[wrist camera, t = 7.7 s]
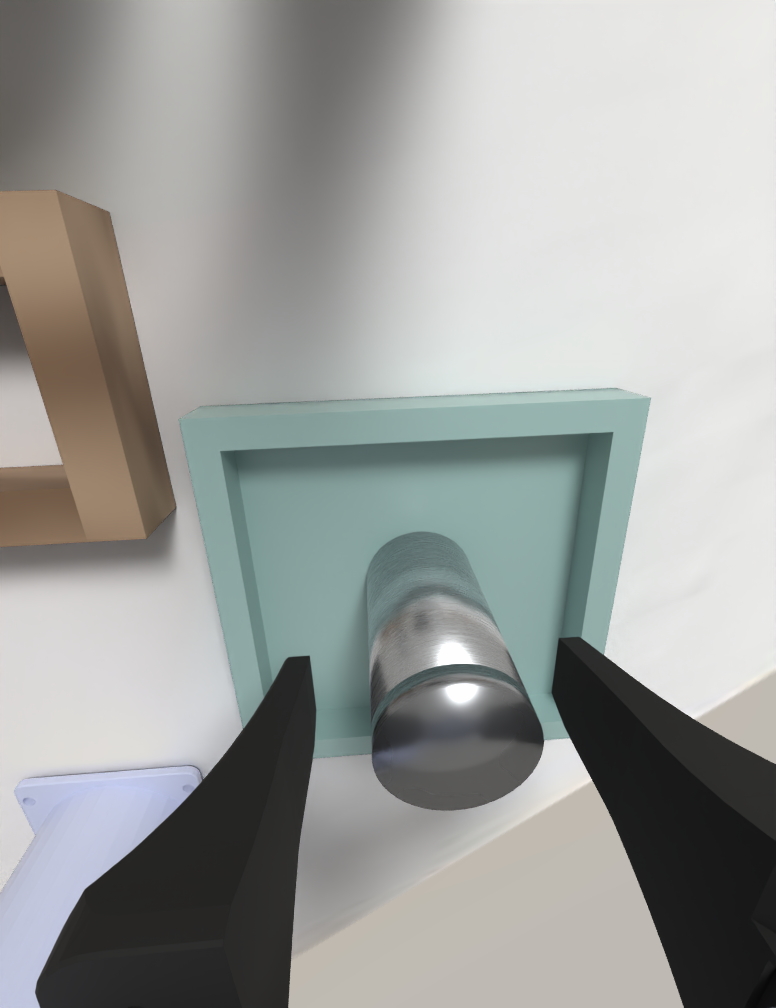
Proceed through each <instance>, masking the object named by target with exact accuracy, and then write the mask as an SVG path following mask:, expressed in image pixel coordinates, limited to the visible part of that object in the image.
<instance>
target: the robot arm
mask: <svg viewBox="0 0 776 1008" xmlns="http://www.w3.org/2000/svg"><path fill="white" fill-rule="evenodd" d="M551 693H552V695H553V698H554V701H555V704H556V706H557V709H558V712H559V714H560V717H561V719H562V722H563V724H564V727H565V729H566V731H567V733H568V735H569V737H570V739H571V741H572V743H573V744H574V746H575V748H576V750H577V752H578V754H579V756H580V758H581V760H582V762H583V764H584V765H585V767H586V769H587V771H588V773H589V775H590V777H591V779H592V781H593V782H594V784H595V786H596V788H597V790H598V792H599V794H600V796H601V798H602V799H603V801H604V803H605V805H606V807H607V809H608V811H609V814H610V816H611V817H612V820H613V822H614V824H615V826H616V829H617V831H618V834H619V836H620V838H621V841H622V843H623V846H624V848H625V850H626V853H627V855H628V858H629V860H630V862H631V865H632V867H633V870H634V872H635V875H636V877H637V880H638V882H639V885H640V888H641V890H642V892H643V895H644V898H645V900H646V903H647V905H648V908H649V911H650V913H651V916H652V919H653V921H654V924H655V927H656V930H657V932H658V935H659V937H660V940H661V943H662V946H663V948H664V951H665V954H666V957H667V959H668V962H669V965H670V968H671V971H672V974H673V977H674V980H675V983H676V986H677V989H678V991H679V994H680V997H681V1000H682V1003H683V1006H684V1008H776V764H774V763H772V762H770V761H768V760H766V759H764V758H762V757H760V756H758V755H756V754H755V753H753V752H751V751H749V750H747V749H745V748H743V747H741V746H739V745H737V744H735V743H733V742H732V741H730V740H728V739H726V738H725V737H723V736H721V735H719V734H718V733H716V732H714V731H713V730H711V729H709V728H707V727H706V726H704V725H702V724H701V723H699V722H697V721H696V720H694V719H693V718H691V717H689V716H688V715H686V714H685V713H683V712H682V711H680V710H679V709H677V708H676V707H674V706H673V705H671V704H670V703H668V702H667V701H665V700H664V699H662V698H661V697H659V696H658V695H656V694H655V693H654V692H652V691H651V690H649V689H648V688H647V687H645V686H644V685H642V684H641V683H640V682H638V681H637V680H636V679H634V678H633V677H632V676H630V675H629V674H628V673H626V672H625V671H624V670H622V669H621V668H620V667H618V666H617V665H616V664H615V663H613V662H612V661H611V660H609V659H608V658H607V657H605V656H604V655H603V654H602V653H600V652H599V651H598V650H596V649H595V648H594V647H593V646H591V645H590V644H589V643H587V642H586V641H585V640H583V639H582V638H580V637H567V638H559V639H558V647H557V654H556V662H555V669H554V677H553V684H552V692H551ZM315 731H316V702H315V694H314V685H313V677H312V669H311V661H310V656H295V657H288V658H287V659H286V660H285V661H284V663H283V665H282V667H281V669H280V671H279V673H278V675H277V676H276V678H275V680H274V682H273V684H272V685H271V687H270V689H269V690H268V692H267V694H266V695H265V697H264V699H263V700H262V702H261V703H260V705H259V706H258V708H257V710H256V711H255V713H254V714H253V716H252V717H251V719H250V720H249V722H248V723H247V724H246V726H245V727H244V729H243V730H242V731H241V733H240V734H239V736H238V737H237V738H236V740H235V741H234V743H233V744H232V745H231V747H230V748H229V749H228V751H227V752H226V753H225V754H224V756H223V757H222V758H221V759H220V761H219V762H218V763H217V764H216V765H215V767H214V768H213V769H212V770H211V771H210V773H209V774H208V775H207V776H206V777H205V778H204V780H203V781H202V778H201V775H200V772H199V770H198V769H197V768H195V767H192V766H180V767H167V768H155V769H142V770H129V771H116V772H104V773H91V774H78V775H66V776H53V777H40V778H28V779H24V780H21V781H20V782H19V783H18V785H17V786H16V788H15V789H14V794H15V796H16V798H17V800H18V802H19V804H20V806H21V808H22V810H23V812H24V814H25V816H26V818H27V820H28V822H29V824H30V826H31V828H32V830H33V832H34V834H35V837H34V839H33V840H32V842H31V844H30V845H29V847H28V848H27V850H26V852H25V853H24V855H23V857H22V858H21V860H20V861H19V863H18V865H17V866H16V868H15V870H14V871H13V873H12V874H11V876H10V878H9V879H8V881H7V883H6V884H5V886H4V887H3V889H2V891H1V892H0V1008H288V999H289V984H290V982H289V981H290V967H291V950H292V934H293V919H294V905H295V890H296V877H297V864H298V851H299V843H300V835H301V828H302V822H303V816H304V809H305V803H306V797H307V791H308V785H309V779H310V772H311V766H312V760H313V753H314V747H315Z"/></svg>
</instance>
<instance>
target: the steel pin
mask: <svg viewBox="0 0 776 1008" xmlns="http://www.w3.org/2000/svg"><path fill="white" fill-rule="evenodd" d="M366 582H367V615H368V647H369V679H370V711H371V744H372V763H373V768H374V771H375V774H376V776H377V778H378V780H379V781H380V782H381V784H382V785H383V786H384V787H385V788H386V789H387V790H388V791H389V792H390V793H391V794H393V795H394V796H395V797H397V798H399V799H400V800H402V801H404V802H406V803H409V804H411V805H414V806H418V807H421V808H426V809H432V810H461V809H468V808H473V807H477V806H481V805H484V804H487V803H490V802H492V801H495V800H497V799H499V798H501V797H503V796H505V795H506V794H508V793H510V792H511V791H513V790H514V789H515V788H517V787H518V786H519V785H521V784H522V783H523V782H524V781H525V780H526V779H527V778H528V777H529V776H530V774H531V773H532V772H533V770H534V769H535V767H536V766H537V764H538V762H539V760H540V758H541V755H542V751H543V746H544V735H543V730H542V726H541V723H540V721H539V719H538V716H537V714H536V712H535V710H534V707H533V705H532V703H531V701H530V698H529V696H528V694H527V692H526V689H525V687H524V685H523V682H522V680H521V678H520V676H519V673H518V671H517V669H516V667H515V664H514V662H513V660H512V658H511V655H510V653H509V651H508V648H507V646H506V644H505V642H504V639H503V637H502V635H501V633H500V630H499V628H498V626H497V624H496V621H495V619H494V617H493V614H492V612H491V610H490V608H489V605H488V603H487V601H486V599H485V596H484V594H483V592H482V590H481V587H480V585H479V583H478V580H477V578H476V576H475V574H474V571H473V569H472V567H471V565H470V562H469V560H468V558H467V556H466V554H465V553H464V551H463V550H462V548H461V547H460V546H459V545H458V544H456V543H455V542H454V541H453V540H451V539H449V538H448V537H445V536H443V535H440V534H437V533H432V532H412V533H407V534H403V535H400V536H398V537H396V538H394V539H392V540H390V541H389V542H387V543H386V544H385V545H383V546H382V547H381V548H380V549H379V550H378V551H377V552H376V554H375V555H374V557H373V558H372V560H371V562H370V564H369V567H368V571H367V579H366Z"/></svg>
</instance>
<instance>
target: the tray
mask: <svg viewBox="0 0 776 1008" xmlns="http://www.w3.org/2000/svg"><path fill="white" fill-rule="evenodd" d="M650 400H651V398H650V397H646V396H643V395H639V394H636V393H632V392H629V391H625V390H622V389H618V388H606V389H584V390H561V391H538V392H516V393H493V394H470V395H447V396H425V397H402V398H379V399H356V400H334V401H311V402H288V403H265V404H243V405H220V406H200V407H199V408H197V409H195V410H193V411H192V412H190V413H188V414H187V415H185V416H183V417H182V418H180V419H179V423H180V428H181V433H182V437H183V442H184V447H185V452H186V457H187V461H188V466H189V471H190V476H191V481H192V485H193V490H194V495H195V500H196V505H197V510H198V514H199V519H200V524H201V529H202V534H203V538H204V543H205V548H206V553H207V558H208V562H209V567H210V572H211V577H212V582H213V587H214V591H215V596H216V601H217V606H218V611H219V615H220V620H221V625H222V630H223V635H224V639H225V644H226V649H227V654H228V659H229V664H230V668H231V673H232V678H233V683H234V688H235V692H236V697H237V702H238V707H239V712H240V717H241V721H242V726H243V729H244V727H245V726H246V724H247V723H248V722H249V720H250V719H251V717H252V716H253V714H254V713H255V711H256V710H257V708H258V706H259V705H260V703H261V702H262V700H263V699H264V697H265V695H266V694H267V692H268V690H269V689H270V687H271V685H272V684H273V682H274V680H275V678H276V676H277V675H278V673H279V671H280V669H281V667H282V665H283V663H284V661H285V660H286V659H287V658H288V657H295V656H310V661H311V669H312V677H313V685H314V694H315V702H316V731H315V747H314V753H313V758H325V757H338V756H350V755H363V754H372V744H371V711H370V679H369V647H368V615H367V582H366V579H367V571H368V567H369V564H370V562H371V560H372V558H373V557H374V555H375V554H376V552H377V551H378V550H379V549H380V548H381V547H382V546H383V545H385V544H386V543H387V542H389V541H390V540H392V539H394V538H396V537H398V536H400V535H403V534H407V533H412V532H432V533H437V534H440V535H443V536H445V537H448V538H449V539H451V540H453V541H454V542H455V543H456V544H458V545H459V546H460V547H461V548H462V550H463V551H464V553H465V554H466V556H467V558H468V560H469V562H470V565H471V567H472V569H473V571H474V574H475V576H476V578H477V580H478V583H479V585H480V587H481V590H482V592H483V594H484V596H485V599H486V601H487V603H488V605H489V608H490V610H491V612H492V614H493V617H494V619H495V621H496V624H497V626H498V628H499V630H500V633H501V635H502V637H503V639H504V642H505V644H506V646H507V648H508V651H509V653H510V655H511V658H512V660H513V662H514V664H515V667H516V669H517V671H518V673H519V676H520V678H521V680H522V682H523V685H524V687H525V689H526V692H527V694H528V696H529V698H530V701H531V703H532V705H533V707H534V710H535V712H536V714H537V716H538V719H539V721H540V723H541V726H542V730H543V735H544V740H552V739H565V738H570V737H569V735H568V733H567V731H566V729H565V727H564V724H563V722H562V719H561V717H560V714H559V712H558V709H557V706H556V704H555V701H554V698H553V695H552V693H551V692H552V684H553V677H554V669H555V662H556V654H557V647H558V639H559V638H567V637H580V638H582V639H583V640H585V641H586V642H587V643H589V644H590V645H591V646H593V647H594V648H595V649H596V650H598V651H599V652H600V653H602V654H603V655H604V651H605V646H606V640H607V635H608V630H609V624H610V619H611V613H612V608H613V602H614V597H615V591H616V586H617V580H618V575H619V570H620V564H621V559H622V553H623V548H624V542H625V537H626V531H627V526H628V520H629V515H630V510H631V504H632V499H633V493H634V488H635V482H636V477H637V471H638V466H639V460H640V455H641V450H642V444H643V439H644V433H645V428H646V422H647V417H648V411H649V406H650Z"/></svg>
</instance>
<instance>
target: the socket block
mask: <svg viewBox="0 0 776 1008" xmlns="http://www.w3.org/2000/svg"><path fill="white" fill-rule="evenodd" d="M0 285H7V288H8V291H9V295H10V298H11V301H12V304H13V307H14V310H15V314H16V317H17V320H18V323H19V326H20V329H21V333H22V336H23V339H24V342H25V345H26V348H27V352H28V355H29V358H30V361H31V364H32V367H33V371H34V374H35V377H36V380H37V383H38V386H39V390H40V393H41V396H42V399H43V402H44V405H45V408H46V412H47V415H48V418H49V421H50V424H51V427H52V431H53V434H54V437H55V440H56V443H57V446H58V450H59V453H60V456H61V459H62V462H63V465H50V466H30V467H10V468H0V547H9V546H27V545H44V544H62V543H80V542H97V541H115V540H133V539H147V538H148V537H149V536H150V535H151V533H152V532H153V531H154V530H155V529H156V528H157V527H158V526H159V525H160V524H161V523H162V522H163V521H164V520H165V518H166V517H167V516H168V515H169V514H170V513H171V512H172V511H173V510H174V509H175V508H176V504H175V500H174V496H173V491H172V487H171V482H170V478H169V473H168V469H167V465H166V460H165V456H164V451H163V447H162V443H161V438H160V434H159V429H158V425H157V421H156V416H155V412H154V407H153V403H152V398H151V394H150V390H149V385H148V381H147V376H146V372H145V368H144V363H143V359H142V354H141V350H140V345H139V341H138V337H137V332H136V328H135V323H134V319H133V315H132V310H131V306H130V301H129V297H128V293H127V288H126V284H125V279H124V275H123V270H122V266H121V262H120V257H119V253H118V248H117V244H116V240H115V235H114V231H113V226H112V222H111V217H110V213H109V212H108V211H105V210H103V209H101V208H98V207H96V206H93V205H91V204H88V203H86V202H84V201H81V200H79V199H76V198H74V197H72V196H69V195H67V194H64V193H62V192H59V191H57V190H31V191H0Z"/></svg>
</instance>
